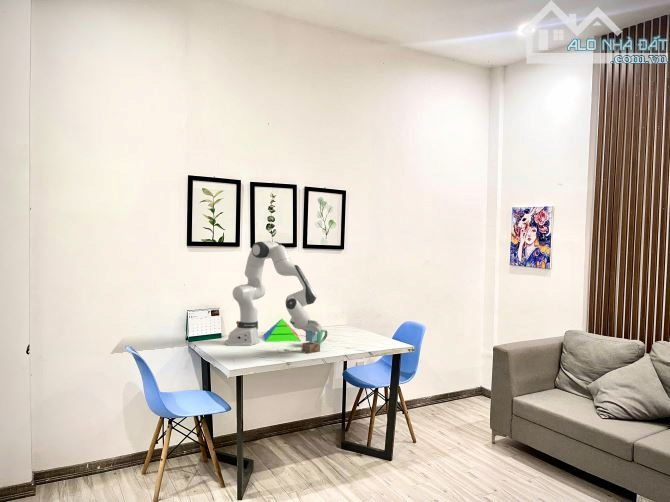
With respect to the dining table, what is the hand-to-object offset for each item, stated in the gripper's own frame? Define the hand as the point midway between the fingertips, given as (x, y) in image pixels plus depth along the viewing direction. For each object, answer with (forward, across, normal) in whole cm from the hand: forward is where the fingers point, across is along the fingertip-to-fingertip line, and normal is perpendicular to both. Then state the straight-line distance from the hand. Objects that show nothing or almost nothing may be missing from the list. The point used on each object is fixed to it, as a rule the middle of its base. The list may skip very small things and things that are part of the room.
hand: (312, 332), depth 296 cm
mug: (+19, +6, -2) cm, 20 cm away
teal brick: (+3, 0, +4) cm, 5 cm away
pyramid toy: (+20, +39, -3) cm, 44 cm away
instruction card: (+1, +13, +15) cm, 20 cm away
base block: (+8, 0, +9) cm, 12 cm away
